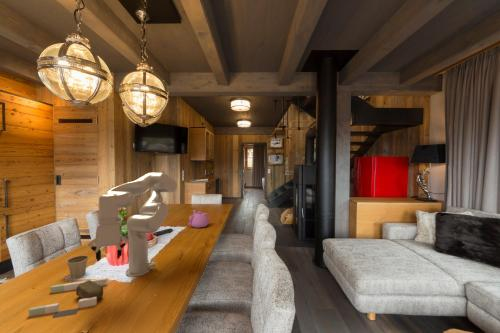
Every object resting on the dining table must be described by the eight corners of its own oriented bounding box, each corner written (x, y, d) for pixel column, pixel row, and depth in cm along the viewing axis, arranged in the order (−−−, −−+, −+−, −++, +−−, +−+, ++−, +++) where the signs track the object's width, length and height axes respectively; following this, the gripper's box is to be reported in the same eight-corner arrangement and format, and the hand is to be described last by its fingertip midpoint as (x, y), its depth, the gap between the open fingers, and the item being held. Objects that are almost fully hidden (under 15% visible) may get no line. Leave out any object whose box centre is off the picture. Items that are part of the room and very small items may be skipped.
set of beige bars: (107, 283, 110) (107, 277, 110) (95, 305, 93) (95, 298, 93) (52, 292, 103) (52, 285, 103) (28, 317, 86) (28, 310, 86)
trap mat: (80, 308, 91) (80, 307, 91) (76, 314, 88) (76, 313, 88) (56, 312, 89) (56, 312, 89) (51, 319, 85) (50, 318, 85)
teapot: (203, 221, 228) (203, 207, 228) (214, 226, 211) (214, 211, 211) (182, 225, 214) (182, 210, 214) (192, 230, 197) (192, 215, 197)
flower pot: (62, 280, 113) (62, 263, 112) (72, 271, 122) (71, 256, 122) (84, 278, 115) (83, 261, 115) (91, 269, 124) (91, 254, 124)
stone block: (88, 289, 103) (89, 278, 103) (104, 297, 99) (105, 286, 99) (74, 295, 98) (75, 284, 98) (90, 304, 93) (91, 293, 93)
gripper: (131, 217, 109) (131, 253, 109) (89, 220, 103) (89, 258, 103) (128, 221, 102) (128, 259, 102) (83, 224, 96) (83, 265, 96)
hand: (109, 258), depth 102 cm, fingers open, 7 cm apart
